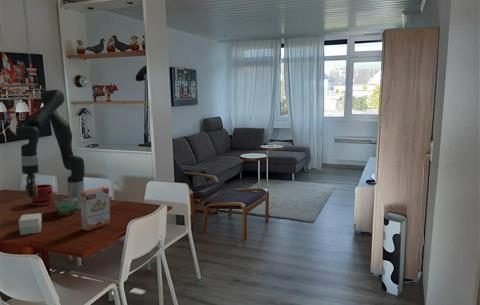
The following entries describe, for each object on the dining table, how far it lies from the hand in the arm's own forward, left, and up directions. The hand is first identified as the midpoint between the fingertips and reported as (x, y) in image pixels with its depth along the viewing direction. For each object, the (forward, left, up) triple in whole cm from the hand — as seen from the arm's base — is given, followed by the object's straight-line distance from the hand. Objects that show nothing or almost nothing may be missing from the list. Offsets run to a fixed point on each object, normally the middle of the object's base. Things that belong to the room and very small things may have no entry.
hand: (31, 195), depth 192 cm
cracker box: (-30, +11, -19) cm, 37 cm away
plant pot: (0, -48, -19) cm, 51 cm away
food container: (-15, -16, -19) cm, 29 cm away
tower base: (+1, +3, -19) cm, 19 cm away
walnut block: (0, 0, -1) cm, 1 cm away
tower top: (+1, +3, -15) cm, 15 cm away
